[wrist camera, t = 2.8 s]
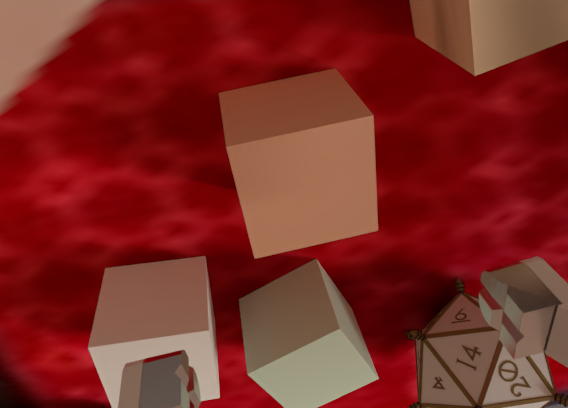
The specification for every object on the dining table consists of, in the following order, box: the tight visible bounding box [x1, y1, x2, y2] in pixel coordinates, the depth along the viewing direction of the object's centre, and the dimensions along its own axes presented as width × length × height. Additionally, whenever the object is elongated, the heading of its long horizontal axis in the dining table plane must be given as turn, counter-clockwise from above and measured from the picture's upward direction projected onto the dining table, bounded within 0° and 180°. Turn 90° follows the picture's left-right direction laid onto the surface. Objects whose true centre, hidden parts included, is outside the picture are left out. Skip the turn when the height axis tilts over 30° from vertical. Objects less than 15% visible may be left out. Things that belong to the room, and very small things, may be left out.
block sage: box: [239, 259, 379, 408], centre depth 25 cm, size 5×5×5 cm
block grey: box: [88, 256, 220, 408], centre depth 23 cm, size 5×5×5 cm
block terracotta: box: [219, 68, 378, 259], centre depth 19 cm, size 5×5×5 cm
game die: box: [404, 278, 568, 408], centre depth 26 cm, size 9×8×10 cm
